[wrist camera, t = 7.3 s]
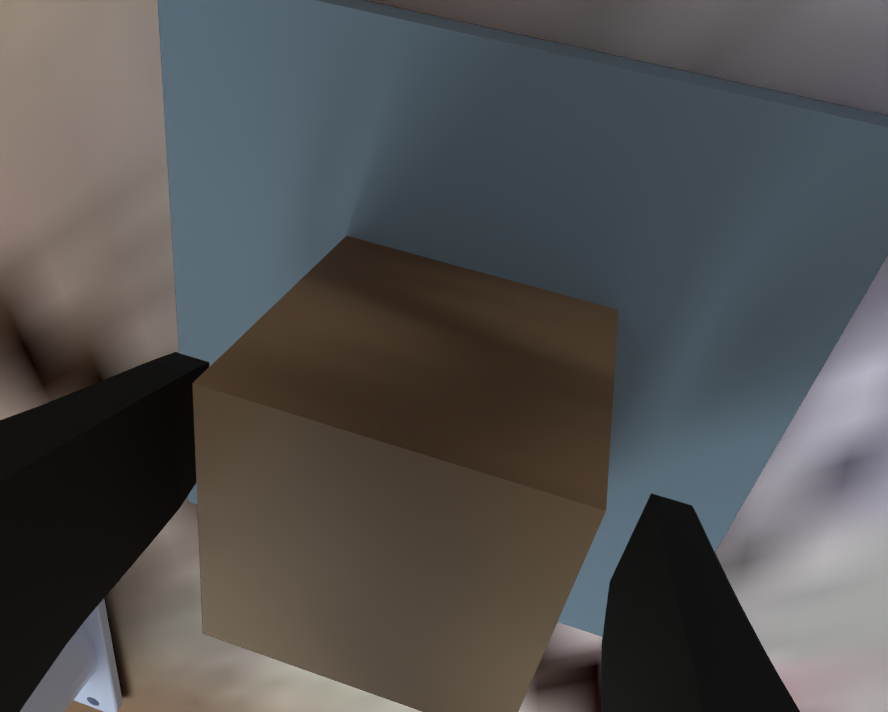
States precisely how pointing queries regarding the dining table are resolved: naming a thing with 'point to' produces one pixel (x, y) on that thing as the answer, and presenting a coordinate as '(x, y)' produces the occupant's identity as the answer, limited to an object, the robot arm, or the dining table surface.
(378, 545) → the walnut cube
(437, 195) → the slate board
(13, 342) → the dining table surface
